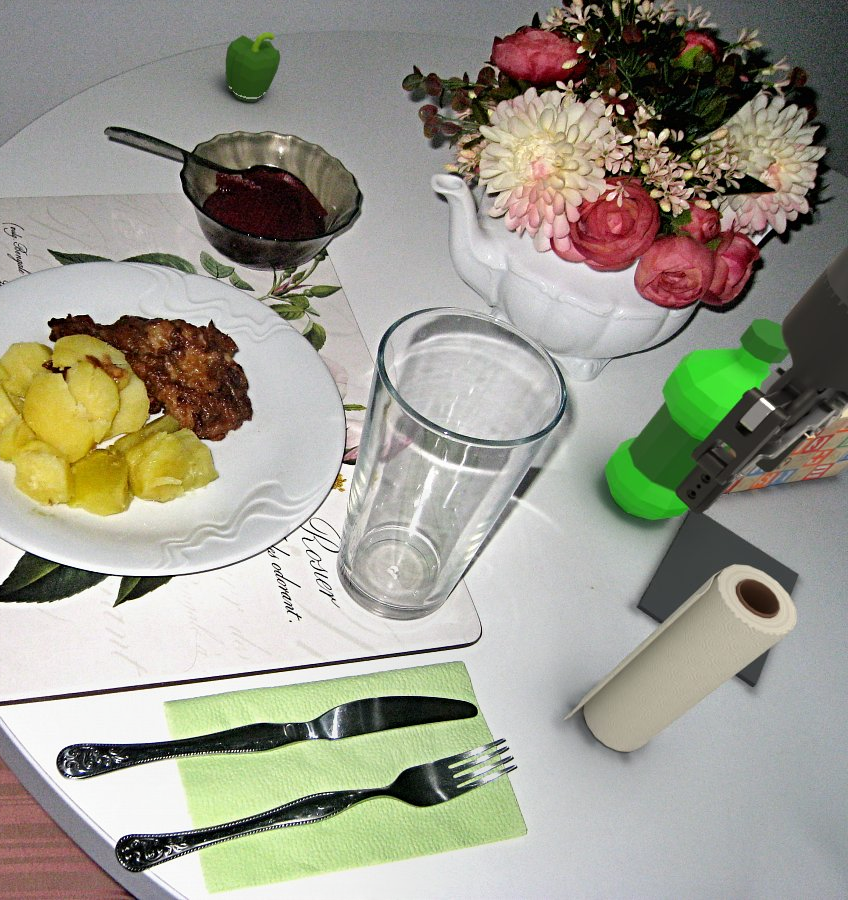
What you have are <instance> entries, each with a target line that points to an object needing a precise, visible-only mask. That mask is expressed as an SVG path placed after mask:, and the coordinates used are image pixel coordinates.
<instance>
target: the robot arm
mask: <svg viewBox="0 0 848 900" xmlns="http://www.w3.org/2000/svg"><path fill="white" fill-rule="evenodd" d="M781 326H782V329H781V333H782V338H783V341H784V344H785V346H786V347H787V348H788V351H789V355H790V357H791V362H792V363H791V364H790V365H789V366H788V368H787V369H786V368H785V367H783V366H778V367H777V368H776V369H774V370H773V371H772V372H770V373H771V374H770V375H769V376H768V377H767V378H765V379H764V380H763V381H762V383H761V387H760V389H758V388H757V387H754V388H752V389H751V390H747V391H746V392H745V393H744V394H743V395H742V398H741V399H740V400H739V401H738V402H737V404H736V405H735V406H734V407H733V408H732V409H731V410H730V411H729V413H728V414H727V415H726V416H725V417H724V418H723V419H722V420H721V422H720V423H719V424H718V425H717V426H716V427H715V428H714V429H713V431H712V432H711V433H710V434H709V435H708V436H707V437H706V439H705V440H704V441H703V442H702V443H701V444H700V445H699V446H697V447H696V448H695V449H694V450H693V453H692V454H691V456H690V457H691V458H692V459H693V460H694V461H695V462H697V465H696V466H695V467H694V469H693V470H692V471H691V472H690V473H689V474H688V475H687V476H686V478H685V479H684V480H683V481H682V482H681V483H680V484H679V486H678V487H677V488H676V490H675V493H676V496H677V497H678V498H679V499H680V500H681V501H682V502H683V503H684V504H685V505H686V506H687V507H689V510H692V511H693V512H694V513H697V514H701V513H704V512H707V511H708V510H709V509H710V508H711V507H712V506H713V505H714V504H715V503H716V502H717V500H719V499H720V498H721V496H722V495H723V494H725V493H724V492H725V491H726V490H727V489H728V488H729V487H730V486H731V485H732V484H733V482H734V481H735V480H739V479H741V478H742V477H743V476H744V475H745V474H744V473H745V472H746V471H747V470H749V469H750V468H751V467H752V466H753V465H754V464H756V465H757V466H758V467H759V468H760V469H762V470H763V471H764V472H772V471H773V470H775V469H777V468H778V467H779V466H780V465H781V464H782V463H783V462H784V461H785V460H786V459H787V458H788V457H789V456H790V455H791V454H792V453H793V452H794V451H795V450H796V449H797V448H798V447H799V446H800V445H801V444H802V443H803V442H804V441H805V440H806V439H807V436H806V435H805V433H806V434H807V435H809V436H810V437H811V436H813V435H814V434H818V433H819V432H820V431H821V430H824V429H825V428H826V427H828V426H829V425H830V424H831V423H833V422H834V421H835V420H838V419H839V418H840V417H841V416H842V413H843V412H844V411H845V410H846V409H847V408H848V242H847V243H846V244H845V245H844V246H843V248H842V249H841V250H840V251H839V252H838V254H837V255H835V256H834V258H833V260H832V261H831V262H830V263H829V264H828V265H827V267H826V268H825V269H823V272H822V273H821V274H820V275H819V276H818V278H817V279H816V280H815V281H814V282H813V283H812V285H810V287H809V288H808V290H807V291H806V292H805V293H804V295H803V296H802V297H801V298H800V299H799V300H798V302H797V303H796V304H795V305H794V306H793V308H791V310H790V311H789V312H788V314H787V315H786V316H785V317H784V319H783V321H782V323H781ZM726 445H728V446H729V447H730V448H731V449H733V450H734V451H735V453H736V457H735V458H734V457H733V456H732V455H731V454H730V453H729V452H728V451H726V450H725V449H724V448H723V447H725V446H726Z"/></svg>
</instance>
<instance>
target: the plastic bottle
mask: <svg viewBox="0 0 848 900" xmlns="http://www.w3.org/2000/svg"><path fill="white" fill-rule="evenodd" d="M781 329H782V324H780V323H778V322H776V321H774V320H773V321H772V320H770V319H767V318H755V319H754V320H753V321H752V322H751V323H750V324H749V326H748V327H747V328H746V329H745V331H744V332H743V333H742V335H740V338H739V341H740V346H739V347H738V348H733V347H732V348H713V349H711V348H710V349H695V350H693V351H690V352H689V353H687V354H686V355H683V356H682V358H681V359H680V361H679V362H678V363H677V364H676V366H675V367H674V369H673V370H672V372H671V373H670V374H669V376H668V377H667V379H665V382H664V385H663V387H662V390H661V392H662V395H663V398H664V402H663V403H662V405H661V406H659V408H658V410H657V411H656V412H655V414H654V415H653V416H652V417H651V418H650V420H649V421H648V423H646V425H645V426H644V427H643V429H642V430H641V431H640V432H639V434H638V435H637V436H634V437H632V438H629V439H626V440H624V441H623V442H621V443H620V444H619V445H618V446H617V448H616V449H615V451H613V454H612V455H611V456H610V457H609V459H608V461H607V462H606V463H605V469H604V474H605V478H606V482H607V485H608V488H609V491H610V495H611V496H612V497H613V500H614V502H615V503H616V504H617V505H618V506H619V507H620V508H621V509H622V510H623V511H624V512H625V513H627V514H630V515H632V516H635V517H637V518H641V519H647V520H650V521H654V520H662V519H672V518H676V517H679V516H681V515H684V514H685V513H686V512H687V511H688V510H690V508H689V507H687V506H686V505H685V504H684V503H683V502H682V501H681V500H680V499H679V498H678V497H677V496H676V493H675V490H676V488H677V487H678V486H679V484H680V483H681V482H682V481H683V480H684V479H685V478H686V476H687V475H688V474H689V473H690V472H691V471H692V470H693V469H694V467H695V466H696V465H697V462H695V461H694V460H693V459H692V458H691V457H690V456H691V454H692V453H693V450H694V449H695V448H696V447H697V446H699V445H700V444H701V443H702V442H703V441H704V440H705V439H706V437H707V436H708V435H709V434H710V433H711V432H712V431H713V429H714V428H715V427H716V426H717V425H718V424H719V423H720V422H721V420H722V419H723V418H724V417H725V416H726V415H727V414H728V413H729V411H730V410H731V409H732V408H733V407H734V406H735V405H736V404H737V402H738V401H739V400H740V399H741V398H742V395H743V394H744V393H745V392H746V391H747V390H751V389H752V388H754V387H757V388H758V389H760V387H761V383H762V381H763V380H764V379H765V378H767V377H768V376H769V375H770V374H771V373H772V372H771V371H770V369H769V368H770V366H771V365H772V364H781V363H782V362H783V361H784V360H785V359H786V358H787V357H788V355H790V353H789V351H788V348H787V347H786V346H785V344H784V341H783V338H782V333H781ZM723 448H724V449H725V450H726V451H729V450H730V449H731V448H730V447H729V446H728V445H726V446H725V447H723Z"/></svg>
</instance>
